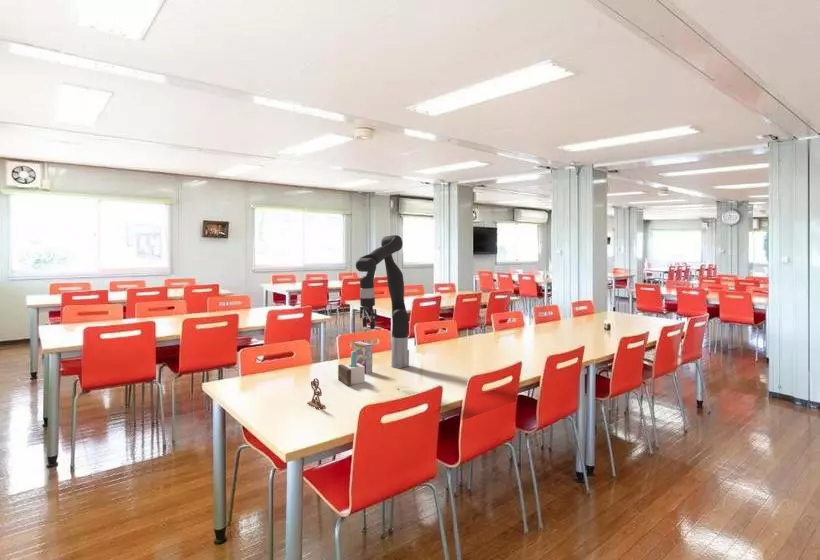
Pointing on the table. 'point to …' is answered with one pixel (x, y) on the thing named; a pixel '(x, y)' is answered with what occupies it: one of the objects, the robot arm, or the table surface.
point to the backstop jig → (344, 375)
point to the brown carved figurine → (314, 401)
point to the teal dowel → (353, 359)
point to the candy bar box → (364, 355)
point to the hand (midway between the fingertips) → (368, 327)
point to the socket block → (357, 373)
